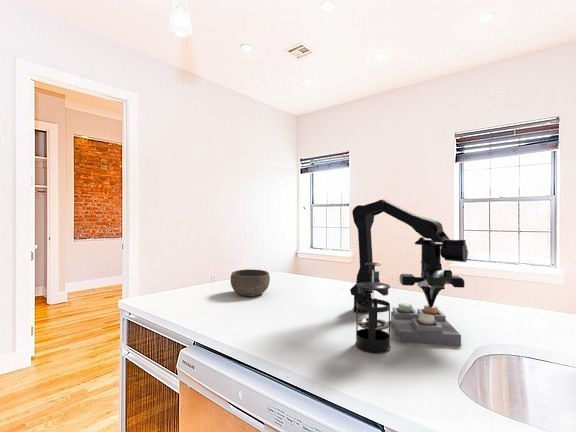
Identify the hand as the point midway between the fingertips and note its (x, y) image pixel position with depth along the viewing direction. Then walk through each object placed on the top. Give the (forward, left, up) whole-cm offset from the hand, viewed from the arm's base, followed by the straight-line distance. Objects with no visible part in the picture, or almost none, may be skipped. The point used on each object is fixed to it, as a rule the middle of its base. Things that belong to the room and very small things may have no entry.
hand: (430, 306), depth 106 cm
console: (-4, -6, -6) cm, 10 cm away
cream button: (-4, -11, -2) cm, 12 cm away
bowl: (-70, +30, -6) cm, 77 cm away
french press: (-20, -20, -6) cm, 29 cm away
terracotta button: (0, 0, -2) cm, 2 cm away
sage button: (-8, 0, -2) cm, 8 cm away
